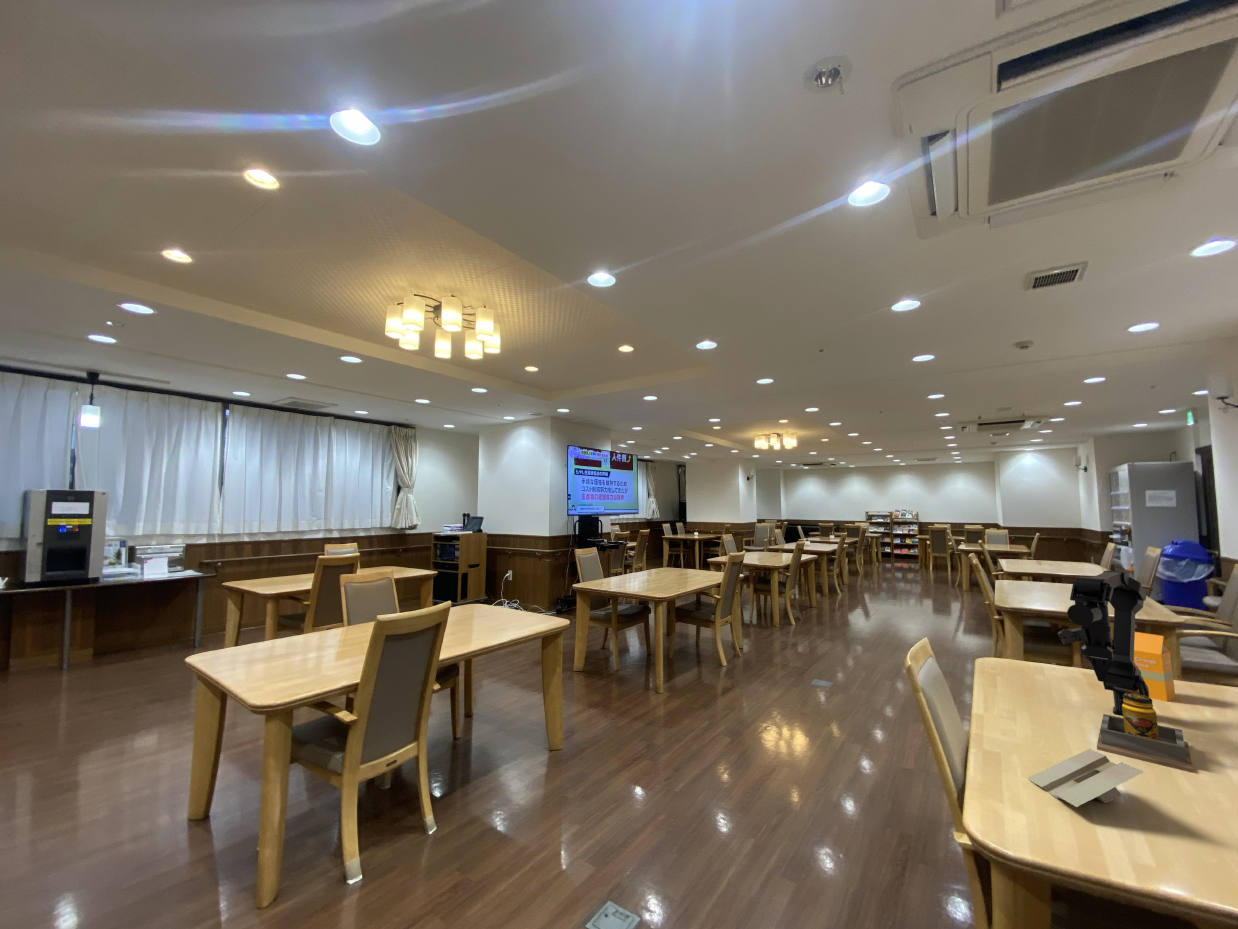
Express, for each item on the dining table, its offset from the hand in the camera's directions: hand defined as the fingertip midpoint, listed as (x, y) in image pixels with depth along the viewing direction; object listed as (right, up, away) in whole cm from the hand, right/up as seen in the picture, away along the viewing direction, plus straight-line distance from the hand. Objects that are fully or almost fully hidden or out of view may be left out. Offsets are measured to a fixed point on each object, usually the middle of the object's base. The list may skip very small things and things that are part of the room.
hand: (1101, 677), depth 140 cm
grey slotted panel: (-41, -10, -38) cm, 56 cm away
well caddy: (-4, -12, -15) cm, 19 cm away
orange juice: (+38, -16, +22) cm, 47 cm away
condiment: (-4, -11, -14) cm, 18 cm away
